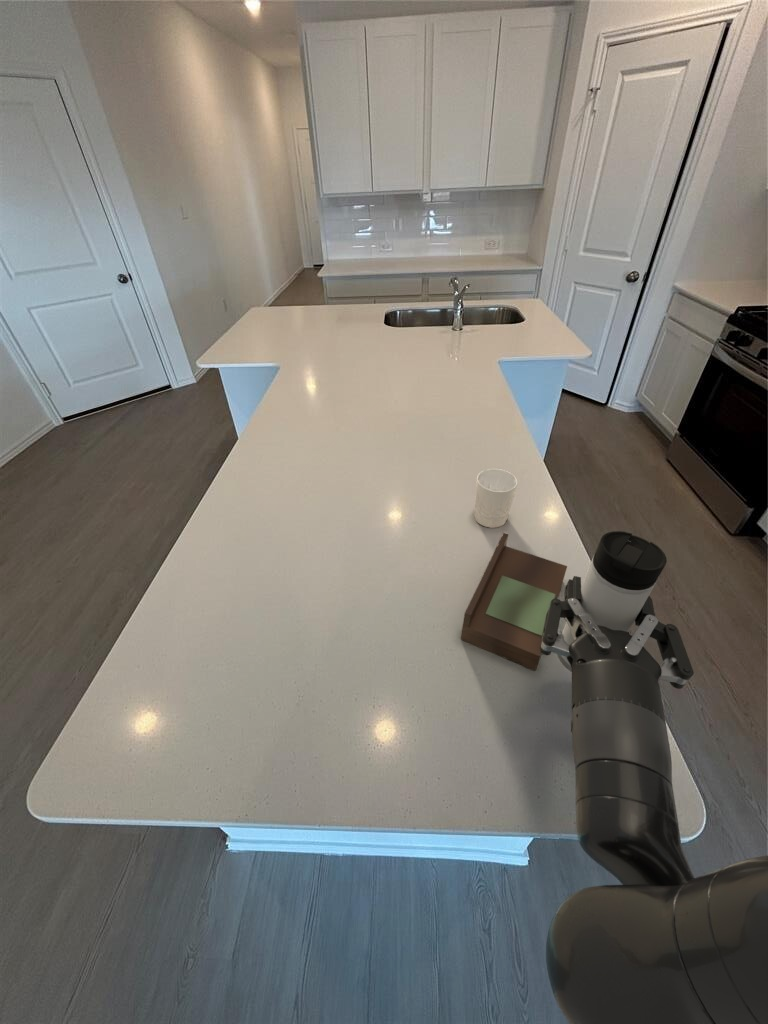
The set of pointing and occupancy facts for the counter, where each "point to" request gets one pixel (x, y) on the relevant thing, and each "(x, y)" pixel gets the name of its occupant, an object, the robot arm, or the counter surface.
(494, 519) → the white cup
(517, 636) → the wooden coaster base
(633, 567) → the travel mug
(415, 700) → the counter surface
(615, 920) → the robot arm
